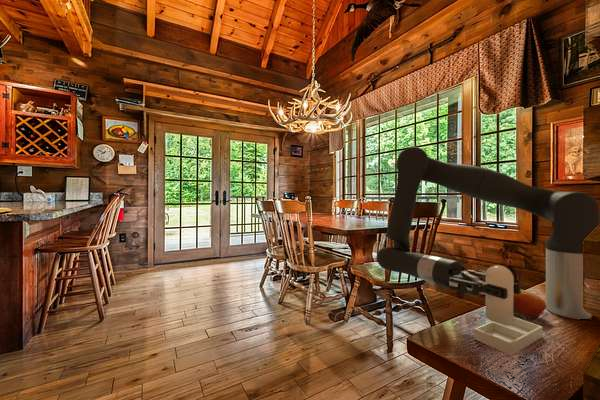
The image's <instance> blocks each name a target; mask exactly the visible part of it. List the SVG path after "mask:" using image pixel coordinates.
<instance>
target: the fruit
mask: <svg viewBox="0 0 600 400" xmlns="http://www.w3.org/2000/svg"><path fill="white" fill-rule="evenodd" d="M545 310H546V301H545V300H543V299H542V298H541V297H540V296H539V295H537V294H534V293H532V292H530V291H527V290H525V289H522V288H521V293H520V294H515V293H514V297H513V315H518V316H520V317H521V318H522V319H523V320H524V321H526V319H537V318H538V317H540V315H541V314H543V312H544V311H545Z"/></svg>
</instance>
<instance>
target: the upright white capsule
mask: <svg viewBox="0 0 600 400" xmlns="http://www.w3.org/2000/svg"><path fill="white" fill-rule="evenodd" d="M485 271H486V285H487V284H492V285H496V286H499V287H503V288H506V289H507V290H508V297H507V298H506V299H502V298H499V297H495V296H492V295H489V294H487V293H486V294H485V318H486V319H487V320H489V321H490V322H491V321H493V322H496V323H500V324H512V323H513V317H514V314H513V297H514V283H515V278H514V275H513V272H512V271H511V270H510V269H509V268H507V267H506V266H503V265H499V264H496V265H492V266H490V267H489V268H487V270H485Z"/></svg>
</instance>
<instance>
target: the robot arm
mask: <svg viewBox="0 0 600 400" xmlns="http://www.w3.org/2000/svg"><path fill="white" fill-rule="evenodd" d="M395 167H396V170H397V181H396V190H395V194H394V198H393V201H392V202H393V203H392V206H391V209H390V213H389V218H388V223H387V226H386V228H387V229H386V237H387V238H388V239H390V240H391V241H392V245H393V246H392V247H391V246H389V247H388V246H385V247H382V248H380V249H379V250H378V251H377V254H376V262H377V264H378V265H379V266H380V267H381V268H382V269H384V270H385V271H386V270H387V271H391V272H394V273H400V274H405V275H409V276H411V277H414V278H416V279H420V280H423V281H425V282H427V283H430V284H432V285H434V286H435V285H436V286H438V287H441V288H444V289H447V290H451V291H459V292H462V293H466V294H471V295H474V296H478V295H486V293H487V294H489V295H492V296H495V297H499V298H502V299H506V298H507V297H508V290H507V289H506V288H503V287H499V286H496V285H492V284H487V285H486V271H487V270H483V269H479V270H478V271H476V270H475V269H474V270H473V269H465V267H464V265H463V264H462V262H460V261H458V260H454V259H450V258H445V257H441V256H436V255H428V254H424V253H419V252H411V244H410V243H411V242H410V234H411V229H412V225H413V220H414V214H415V212H414V211H415V207H416V201H417V196H418V195H417V194H418V191H419V188H420V184H421V181H423V182H426V183H432V184H435V185H439V186H441V187H443V188H445V189H448V190H450V191H452V192H453V191H454V192H455V193H459V194H462V195H464V196H468V197H470V198H473V199H478V200H480V201H483V202H488V203H491V204H495V205H500V206H505V207H511V208H515V209H519V210H521V211H525V212H528V213H530V214H532V215H536V216H537V217H540V218H542V219H544V220H547V221H550V222H551V223H553V228H552V234H551V235H550V236H549V237H547V238H546V239H545V304H546V308H545V310H547V311H549V312H551V313H552V314H554V315H558V316H561V317H564V318H569V319H572V320H573V319H574V320H580V319H589V318H590V317H591V314H590V313H588V312H586V311H585V310H584V308H583V241H584V239H585V238H586V237H587V236H588V235H589V234H590V233H591V232H592V231H593V230H594V229H595V228H596V227H597V226H598V225H599V226H600V205H599V203H598V202H597V200H596V198H595V197H593V196H592V195H590V194H589V193H586V192H583V191H560V190H559V191H557V190H551V189H545V188H541V187H537V186H532V185H529V184H526V183H523V182H522V181H519V180H517V179H516V178H514V177H512V176H510V175H508V174H505V173H503V172H499V171H497V170H493V169H489V168H485V167H483V166H482V167H481V166H476V165H470V164H463V163H462V164H461V163H452V162H451V163H450V162H445V161H440V160H437V159H435V158H432V157H428V154H427V153H426V151H425V150H424V149H422V148H420V147H418V146H410V147H406V148H405V149H403V150H402V151H401V152H400V153H399V155H397V158H396V163H395ZM521 289H522V286H521V284H520V283H518V282H514V293H515V294H520V293H521Z"/></svg>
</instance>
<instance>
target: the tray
mask: <svg viewBox="0 0 600 400" xmlns="http://www.w3.org/2000/svg"><path fill="white" fill-rule="evenodd" d="M473 329H474V330H473V331H474V339H473V340H476V341H478V342H480V343H482V344H484V345H486V346H489V347H491V348H494V349H496V350H497V351H500V352H503V353H505V354H507V355H509V356H512V355H514V354H516V353H518V352H520V351H521V350H522V349H524V348H527V347H528V346H530V345H532V344H533V343H534V342H537V341H538V340H540V339H542V338H543V337H544V336H543V332H544V330H543V329H544V328H543V326H542V325H538V324H536V323H533V322H530V321H528V320H525V321H524V319H521V318H519V317H515V316H513V323H512V324H500V323H496V322H493V321H491V320H490V321H489V322H486V323H484V324H481V325H479V326H476V327H475V328H473Z"/></svg>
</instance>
